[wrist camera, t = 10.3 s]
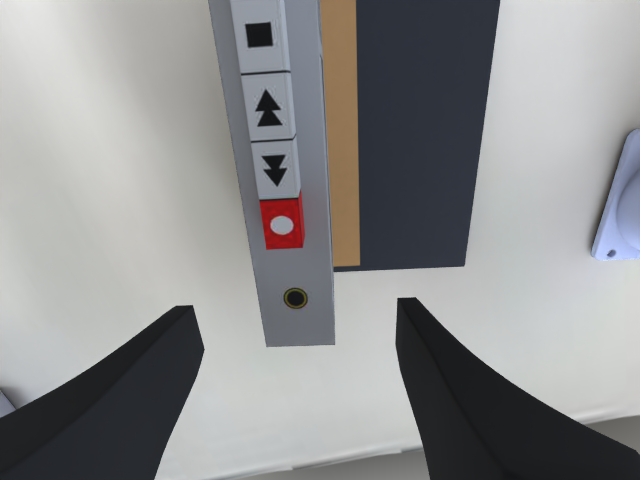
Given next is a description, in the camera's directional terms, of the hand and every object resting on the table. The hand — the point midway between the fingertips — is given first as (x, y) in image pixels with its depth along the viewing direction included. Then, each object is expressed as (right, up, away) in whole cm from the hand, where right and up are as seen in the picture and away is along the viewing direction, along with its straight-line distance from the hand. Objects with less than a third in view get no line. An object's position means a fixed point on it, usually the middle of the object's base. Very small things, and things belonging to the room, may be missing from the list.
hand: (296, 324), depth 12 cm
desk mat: (+3, +10, +7) cm, 13 cm away
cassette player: (0, +10, +6) cm, 12 cm away
